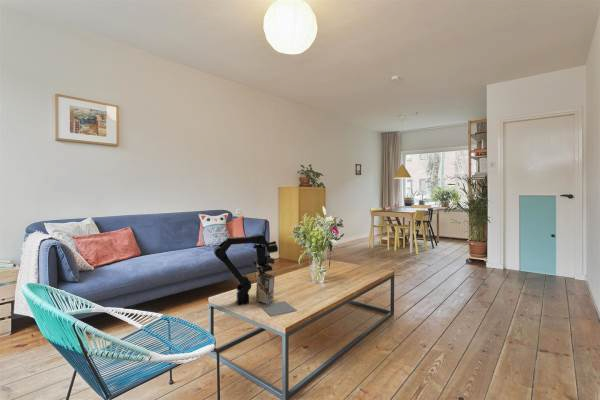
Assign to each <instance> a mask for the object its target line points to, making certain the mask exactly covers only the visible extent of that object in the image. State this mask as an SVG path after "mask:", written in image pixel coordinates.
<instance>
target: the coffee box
mask: <svg viewBox="0 0 600 400" xmlns="http://www.w3.org/2000/svg"><path fill="white" fill-rule="evenodd" d="M255 291H256V292H255V293H256V295H255V298H256V301H258V302H260V303H264V304H265V305H267V304H271V303H272V302H273V301H274V295H275V294H274V292H275V275H273V274H269V273H268V272H265V273H263V272H262V273H260V274H259V273H258V274H257V276H256V290H255Z"/></svg>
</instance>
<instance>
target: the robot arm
mask: <svg viewBox="0 0 600 400" xmlns="http://www.w3.org/2000/svg"><path fill="white" fill-rule="evenodd" d="M241 244H254V245H252V249H255V254H256V255H255V258H256V259H253V260H252V261H251V266H252V267H253V266H256V267H255V269H256V271H257V274H258V275H259V274H260V273H262V272H263V273H268V272H271V271H273V266H272V265H274V264H275V260H276V259H275V258H273V257H271V255H269V254H272V253H277V252H278V248H279V247H278V245H277V241H275V240H273V241H270V242H268V241H267V240H266V236H265V235H263V234H261V233H255V234H252V235H249V236H233V237H230V236H228V237H226V239H224V240H223V241H222V242H221V243H220V244H219V245H217V246H215V247H214V248H213V254H214V255H215V257H217V258H218V260H220V261H221V262H222V263H224V265H225V266H226V267H227V268H228V270H229V271H230V272H231V274H232V275H233V276H234V278H235V279H236V280H237V282H238V285H237V286H236V300H235V302H236V304H237V305H239V306H241V305H246V304H250V302H249V301H250V294H249V291H250V290H251V289H252V281H251V280H250V279H249V278H248V276H247V275H246V274H244V275H243V274H242V273H240V271H239V269H237V267H236V266H235V264H234V263H233V262H232V261H231V260H230V259H229V257H228V254H227V253H226V252H227V251H228V250H229V249H230V247H231V246H232V245H241ZM270 264H272V265H270Z"/></svg>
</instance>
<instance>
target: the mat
mask: <svg viewBox="0 0 600 400" xmlns="http://www.w3.org/2000/svg"><path fill="white" fill-rule="evenodd" d="M259 308H261V309H262V310H263V311H264V312H266V314H268V316H270V317H274V316H279V315H285V314H288V313H292V312H293V313H294V312H297V311H298V310H297V309H296V308H294V306H292V305H291V304H289V303H288V302H287V301H285V300H283V301H279V302H278V301H277V302H273V303H272V302H271V303H269V304H264V305H260V306H259Z"/></svg>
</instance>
